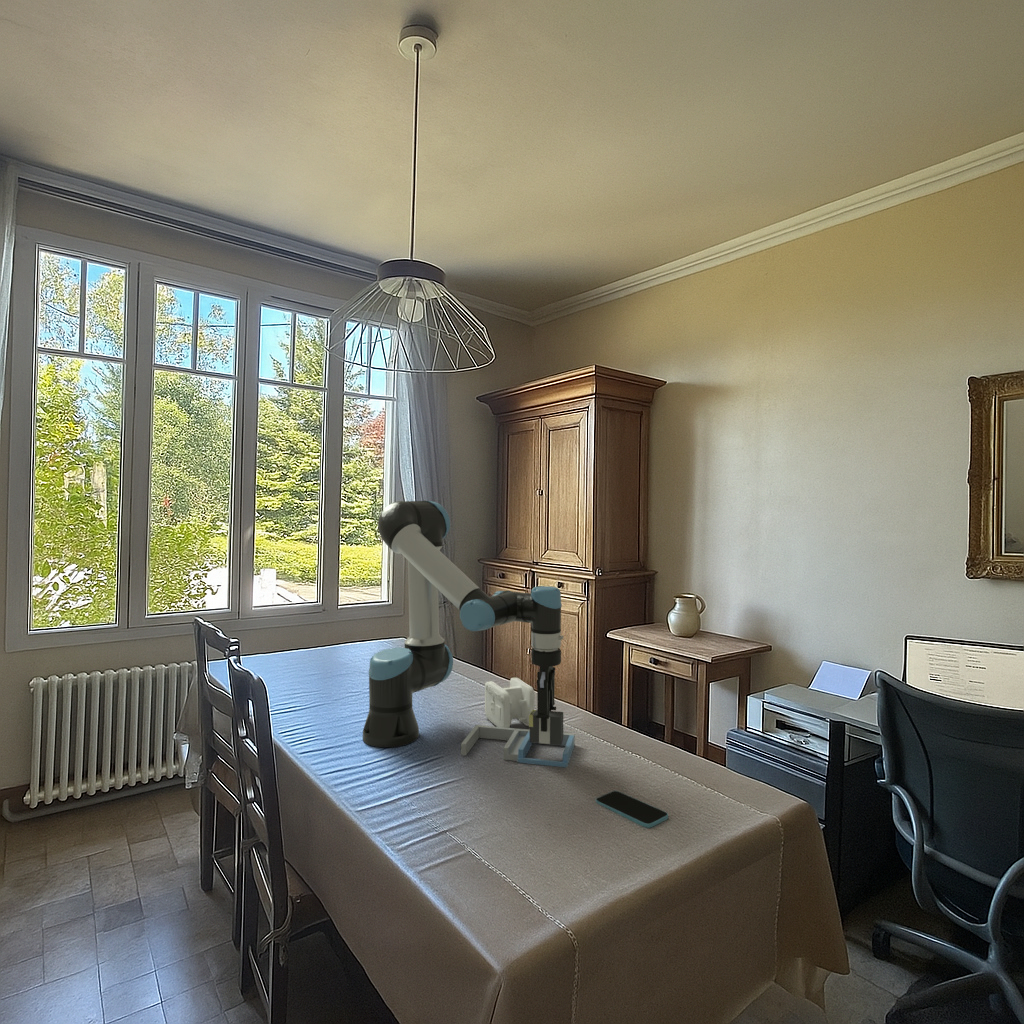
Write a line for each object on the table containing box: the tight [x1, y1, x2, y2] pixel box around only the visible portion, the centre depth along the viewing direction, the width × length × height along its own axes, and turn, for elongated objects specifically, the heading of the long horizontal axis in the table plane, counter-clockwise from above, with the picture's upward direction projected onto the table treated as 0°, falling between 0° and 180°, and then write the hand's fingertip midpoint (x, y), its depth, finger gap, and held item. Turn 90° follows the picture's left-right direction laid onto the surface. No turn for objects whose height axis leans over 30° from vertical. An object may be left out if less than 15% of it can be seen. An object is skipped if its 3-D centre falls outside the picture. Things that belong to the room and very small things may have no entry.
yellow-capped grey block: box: [528, 709, 564, 746], centre depth 164 cm, size 8×4×7 cm, turn 77°
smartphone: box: [595, 790, 669, 829], centre depth 138 cm, size 7×1×15 cm
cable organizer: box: [484, 676, 536, 728], centre depth 188 cm, size 15×11×12 cm
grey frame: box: [460, 724, 576, 768], centre depth 169 cm, size 27×14×3 cm, turn 77°
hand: (546, 739), depth 164 cm, fingers closed on yellow-capped grey block, 4 cm apart
